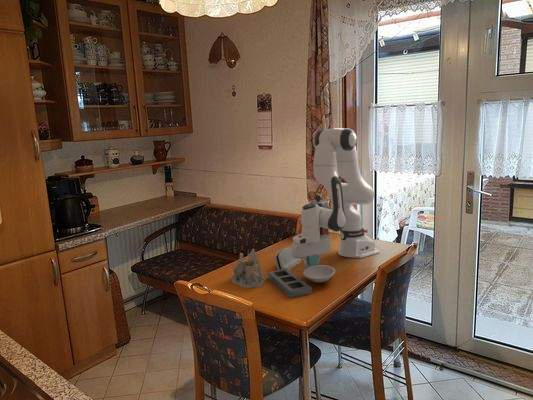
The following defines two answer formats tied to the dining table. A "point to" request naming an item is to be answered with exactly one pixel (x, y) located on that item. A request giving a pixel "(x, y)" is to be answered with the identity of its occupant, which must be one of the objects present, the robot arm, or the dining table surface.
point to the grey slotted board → (289, 283)
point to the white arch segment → (286, 259)
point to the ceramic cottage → (248, 271)
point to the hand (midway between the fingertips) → (311, 263)
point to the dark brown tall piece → (322, 204)
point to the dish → (319, 273)
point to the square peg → (312, 260)
